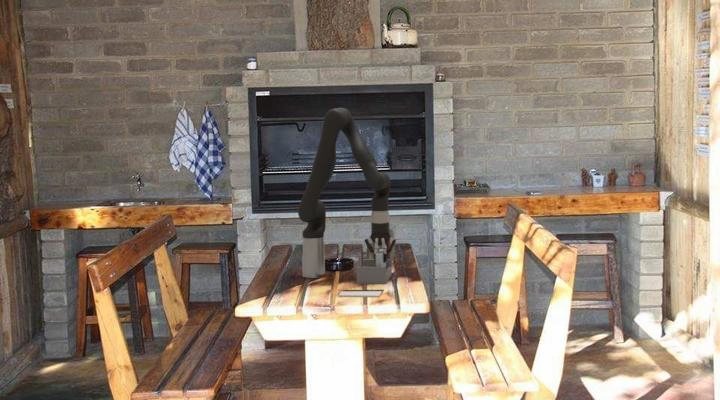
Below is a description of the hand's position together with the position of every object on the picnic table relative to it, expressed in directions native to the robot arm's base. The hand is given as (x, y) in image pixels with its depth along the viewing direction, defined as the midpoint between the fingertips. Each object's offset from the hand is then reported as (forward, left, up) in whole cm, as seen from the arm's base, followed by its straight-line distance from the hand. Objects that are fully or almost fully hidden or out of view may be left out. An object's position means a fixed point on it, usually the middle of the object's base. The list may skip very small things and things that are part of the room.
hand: (380, 262), depth 373 cm
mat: (-5, -21, -8) cm, 23 cm away
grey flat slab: (0, 0, -8) cm, 8 cm away
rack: (-3, 0, -8) cm, 9 cm away
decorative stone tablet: (-3, +29, -9) cm, 30 cm away
